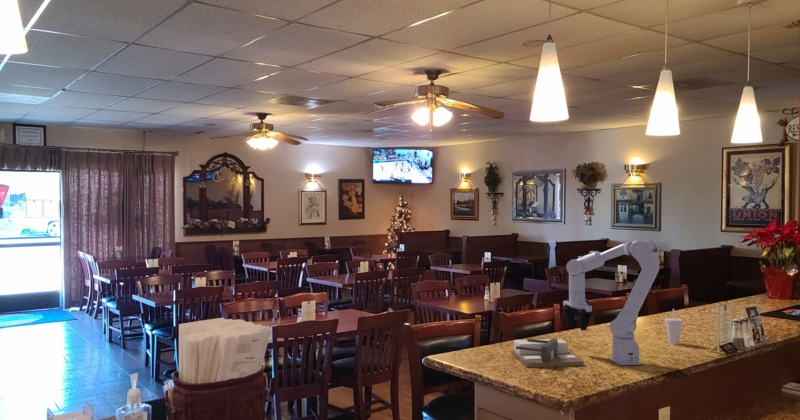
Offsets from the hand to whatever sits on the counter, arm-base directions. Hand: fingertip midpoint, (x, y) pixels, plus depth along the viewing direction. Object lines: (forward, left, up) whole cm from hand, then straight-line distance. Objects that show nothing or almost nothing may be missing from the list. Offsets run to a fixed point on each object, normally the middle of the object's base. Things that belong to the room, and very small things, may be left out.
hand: (577, 328), depth 223 cm
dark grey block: (-7, +18, -8) cm, 21 cm away
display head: (-6, +14, -10) cm, 18 cm away
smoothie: (+13, -45, -10) cm, 48 cm away
